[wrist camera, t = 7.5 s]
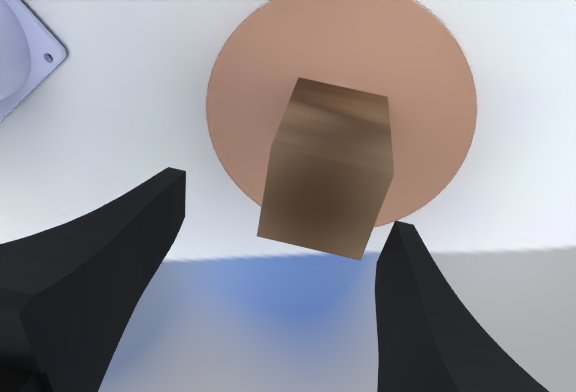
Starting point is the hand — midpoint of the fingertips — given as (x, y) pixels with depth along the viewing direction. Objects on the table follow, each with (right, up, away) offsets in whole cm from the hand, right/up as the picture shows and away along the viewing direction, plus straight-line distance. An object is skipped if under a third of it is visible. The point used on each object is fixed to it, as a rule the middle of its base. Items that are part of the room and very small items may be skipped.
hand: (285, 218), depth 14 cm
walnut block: (+2, +4, +8) cm, 9 cm away
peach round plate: (+3, +5, +8) cm, 10 cm away
